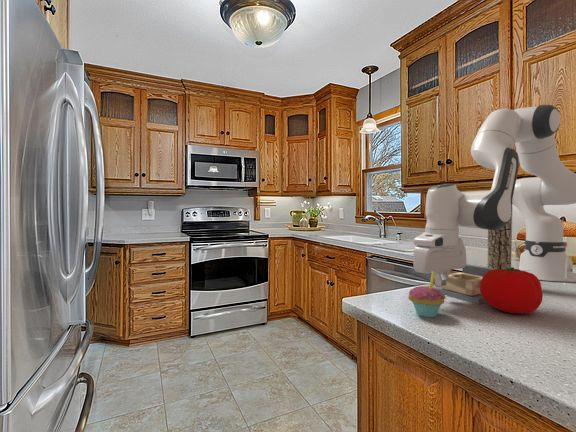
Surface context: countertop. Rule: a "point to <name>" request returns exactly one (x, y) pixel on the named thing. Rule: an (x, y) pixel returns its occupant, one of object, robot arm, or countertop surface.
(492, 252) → the wooden log
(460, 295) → the slate track
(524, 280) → the tomato
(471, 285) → the square wooden frame
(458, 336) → the countertop surface
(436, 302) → the cupcake
